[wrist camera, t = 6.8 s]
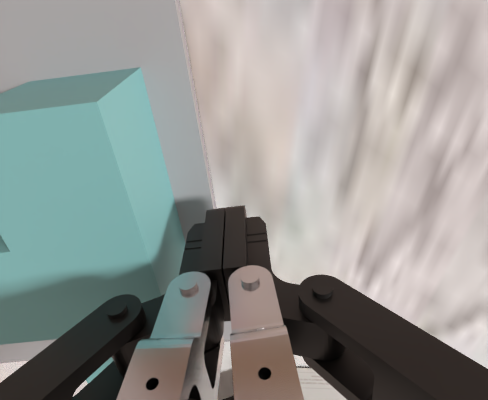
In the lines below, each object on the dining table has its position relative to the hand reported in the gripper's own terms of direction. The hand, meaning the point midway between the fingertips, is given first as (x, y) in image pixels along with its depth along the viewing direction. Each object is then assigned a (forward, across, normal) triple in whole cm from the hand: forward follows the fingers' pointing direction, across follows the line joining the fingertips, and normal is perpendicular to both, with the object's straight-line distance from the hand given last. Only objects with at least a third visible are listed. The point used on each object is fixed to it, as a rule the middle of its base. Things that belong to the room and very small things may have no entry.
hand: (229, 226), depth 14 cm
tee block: (+1, +8, 0) cm, 8 cm away
